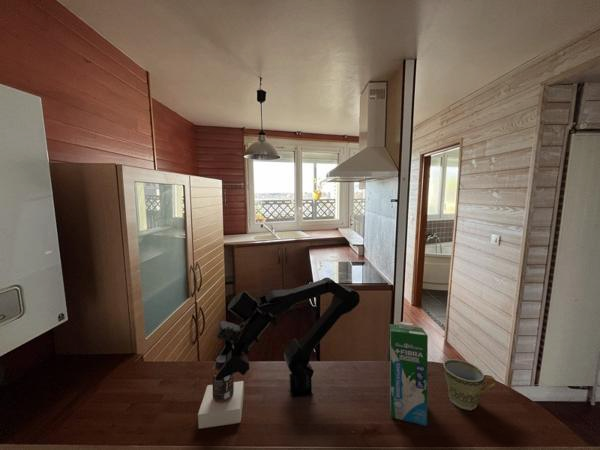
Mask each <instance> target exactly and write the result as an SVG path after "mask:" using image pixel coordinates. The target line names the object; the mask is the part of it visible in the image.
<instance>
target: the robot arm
mask: <svg viewBox="0 0 600 450" xmlns="http://www.w3.org/2000/svg"><path fill="white" fill-rule="evenodd" d="M329 293H331V294H332V298H331V302H330V305H329V306H328V307H327V309H326V310H325V311H324V312H323V313H322V315H321V316H320V317H319V318H318V319H317V320H316V321H315V322H314V324H313V325H312V326H311V327H310V329H308V331H306V333H305V334H304V335H303V337H301V338H299V339H296V338H295V337H294V338H292V339H291V340H290V342H289V343H288V344H287V345H286V346H285V350H284V352H283V357H284V360H285V362H286V365H287V368H288V371H290V373H289V374H288V377H289V390H290V392H291V394H292V397H293V398H296V397H305V396H311V395H313V394H314V392H313V387H312V386H313V385H312V378H313V376H314V372H315V370H314V369H313V366H312V365H311V363H310V361H311V358H312V355H313V351H314V349H315V348H316V347H317V346H318V344H319V343H320V342H321V341H322V340H323V339H324V337H326V335H327V334H328V333H329V331H330V330H331V329H333V328H332V327H334V325H335V324H336V323H337V322H338V320H339V319H340V318H341V317H342V316H344V315H346V314H348V313H350V312H352V311H353V310H354V309H355V308H356V307H357V306H358V305H359V304H360V302H361V299H360V298H361V296H360V294H359V292H357V291H356V290H355V289H353V288H351V287H349V286H348V285H344V284H343V285H340V284H338V283H337V282H336V281H334V280H333V279H331V278H330V277H324V278H322V279H320V280H317V281H314V282H311V283H307V284H305V285H304V284H303V285H300V286H298V287H295V288H291V289H274V290H271V291H268V292H267V293H266V294H265V295H260V296H258V297H253V296H252V295H250V294H249V293H248V291H246V290H245V289H243V290H242V291H241V292H239V293H238V294H236V295H235V296H234V297H233V298H232V299H231V300H230V302H229V303H228V305H227V310H229V311H230V313H231V312H232V313H233V314H234V315H235V316H237V317H238V318H239V319H240V320H242V321H243V322H241V323H240V324H239V325H238V324H236V323H233V322H228V321H224V320H221V321H220V324H219V326H218V327H217V331H216V337H217V338H218V339H219V340H224V343H225V344H224V346H223V348H222V350H221V352H220V354H219V356H221V355H225V363H224V365H223V366H222V368H221V369H220V371H219V372H218V374H217V375H216V377H215V379H216V380H220V379H222V378H224V377H226V376H229V375H231V374H233V373H234V374H236V373H239V374H241V375H242V376H245V375H246V374H247V373H248V372H249V371H250V362H249V357H248V356H247V355H249V353H250V348H251V347H252V346H253V344H254V343H258V342H260V336H261V334H262V333H263V332H264V331H265V330H266V328H267V327H269V325H270V324H272V325H273V326H274V327H277V326H278V322H277V319H278V316H280V315H282V314H283V313H286V312H287V311H290V310H291V308H292V307H294V305H295V306H296V304H299V303H302V302H306V301H307V300H311V299H313V298H317V297H319V296H322V295H326V294H329ZM244 321H245V322H244ZM245 354H247V355H245Z"/></svg>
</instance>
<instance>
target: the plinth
mask: <svg viewBox="0 0 600 450" xmlns="http://www.w3.org/2000/svg"><path fill="white" fill-rule="evenodd" d="M244 385H245V384H244V381H243V380H241V381H234V393H233V396H232V397H231V398H230V399H229V400H227V401H225V402H216V401H215V400H214V399H213V384H208V385H207V386H206V389H205V392H204V394H203V399H202V400H201V404H200V407H199V410H198V413H197V422H198V423H197V424H198V429H205V428H206V429H207V428H213V427H219V426H226V425H234V424H240V423H241V420H242V414H243V413H242V412H243V404H244V394H245V389H244Z"/></svg>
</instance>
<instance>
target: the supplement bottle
mask: <svg viewBox="0 0 600 450" xmlns="http://www.w3.org/2000/svg"><path fill="white" fill-rule="evenodd" d="M224 363H225V355H221V356H220V355H218V357H217V358H216V359H215V364H214V365H213V367H212V375H211V376H212V385H213V399H214V400H215V401H216V402H225V401H227V400H229V399H230V398H231V397H232V396H233V393H234V382H235V381H234V380H235V379H234V378H235V376H234V375H235V373H233V374H231V375H229V376H226V377H224V378H222V379H220V380H216V379H215V377H216V375H217V374H218V372H219V371H220V369H221V368H222V366H223V365H224Z"/></svg>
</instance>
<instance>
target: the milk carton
mask: <svg viewBox="0 0 600 450" xmlns="http://www.w3.org/2000/svg"><path fill="white" fill-rule="evenodd" d="M428 341H429V336H428V334H427V333H426V331H425V330H424V328H423V327H418V326H415V324H414V323H411V322H406V321H401V322H399V324H395V323H394V324H392V323H389V401H390V406H389V407H390V418H394V419H397V420H401V421H405V422H409V423H413V424H417V425H422V426H426V427H427V426H428V366H429V365H428V360H429V358H428V353H429V352H428V351H429V350H428V349H429V347H428V344H429V343H428Z"/></svg>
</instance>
